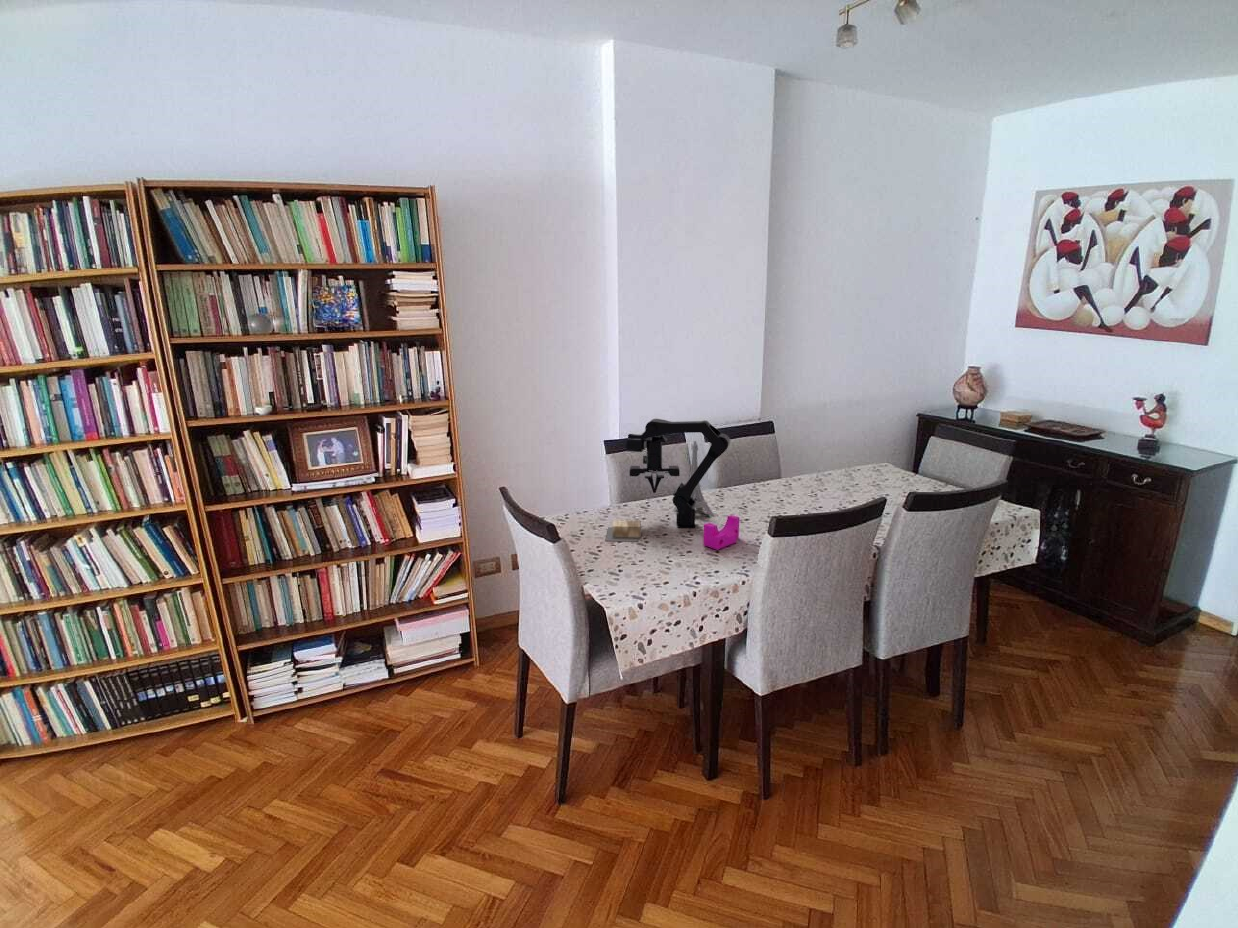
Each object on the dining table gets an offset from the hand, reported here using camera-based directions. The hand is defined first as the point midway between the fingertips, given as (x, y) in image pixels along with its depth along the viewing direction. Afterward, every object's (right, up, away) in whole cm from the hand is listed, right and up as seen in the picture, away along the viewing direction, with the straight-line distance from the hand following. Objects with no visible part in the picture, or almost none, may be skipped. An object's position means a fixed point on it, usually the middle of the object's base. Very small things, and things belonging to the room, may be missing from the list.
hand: (654, 492), depth 243 cm
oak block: (-6, -13, -10) cm, 17 cm away
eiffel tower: (+16, -9, +12) cm, 23 cm away
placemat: (-12, -15, -9) cm, 21 cm away
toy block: (+24, -17, -17) cm, 34 cm away
